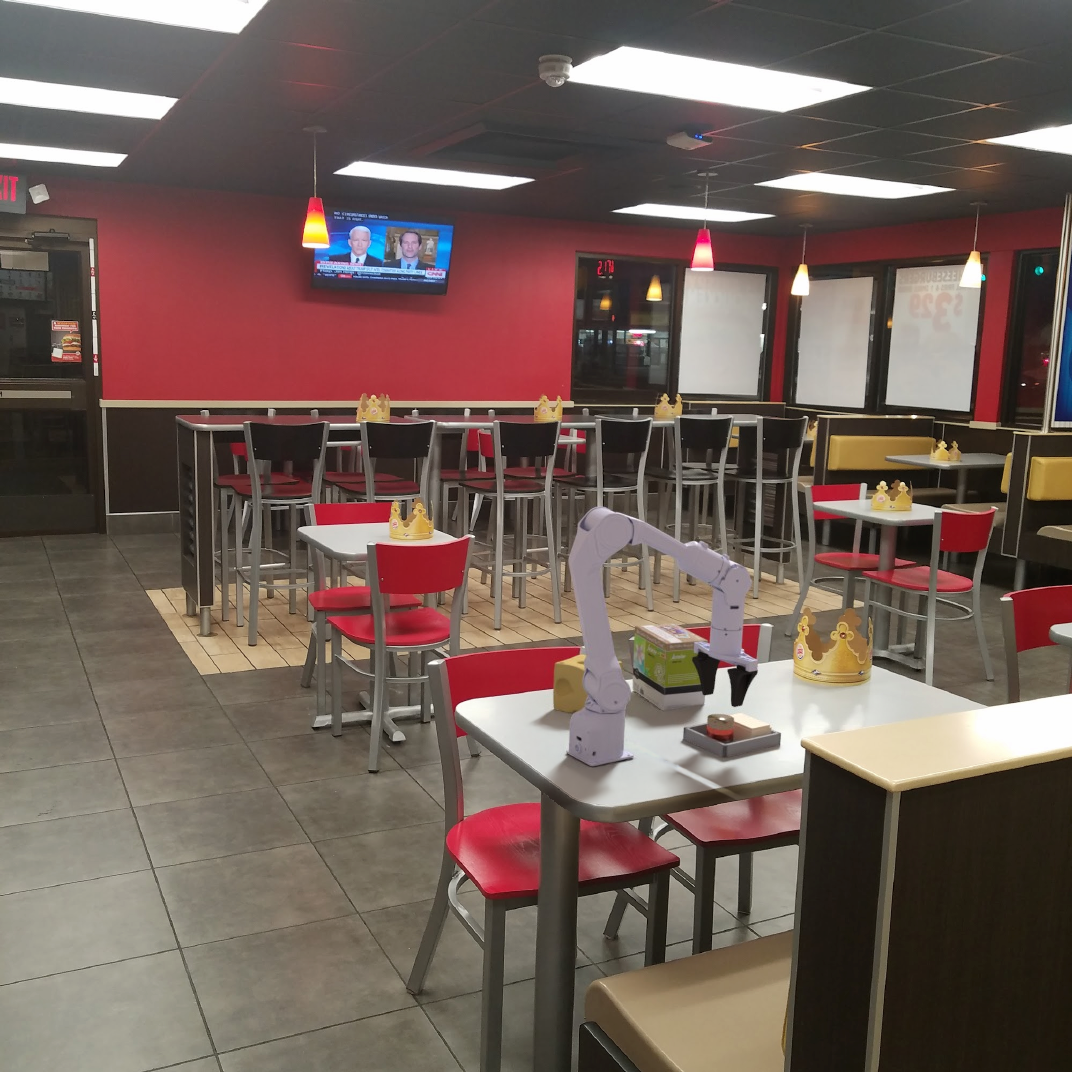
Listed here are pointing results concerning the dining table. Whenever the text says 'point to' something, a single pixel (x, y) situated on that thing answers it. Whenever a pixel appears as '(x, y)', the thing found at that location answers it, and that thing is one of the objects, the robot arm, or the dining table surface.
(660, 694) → the tea box
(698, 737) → the tray
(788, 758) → the dining table surface
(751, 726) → the cream rectangular block
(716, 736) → the tin
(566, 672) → the cheese
